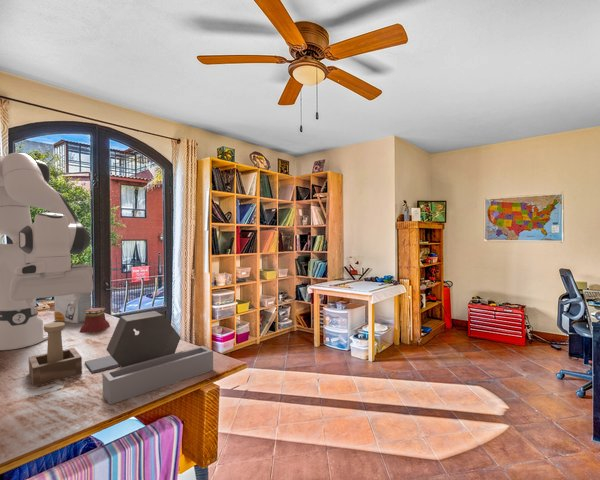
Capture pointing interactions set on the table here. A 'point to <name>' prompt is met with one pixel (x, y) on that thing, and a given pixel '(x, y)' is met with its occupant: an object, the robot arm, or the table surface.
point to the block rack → (155, 373)
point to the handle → (54, 341)
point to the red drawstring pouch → (94, 320)
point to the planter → (142, 338)
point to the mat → (101, 364)
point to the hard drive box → (71, 315)
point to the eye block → (54, 367)
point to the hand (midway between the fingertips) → (54, 311)
